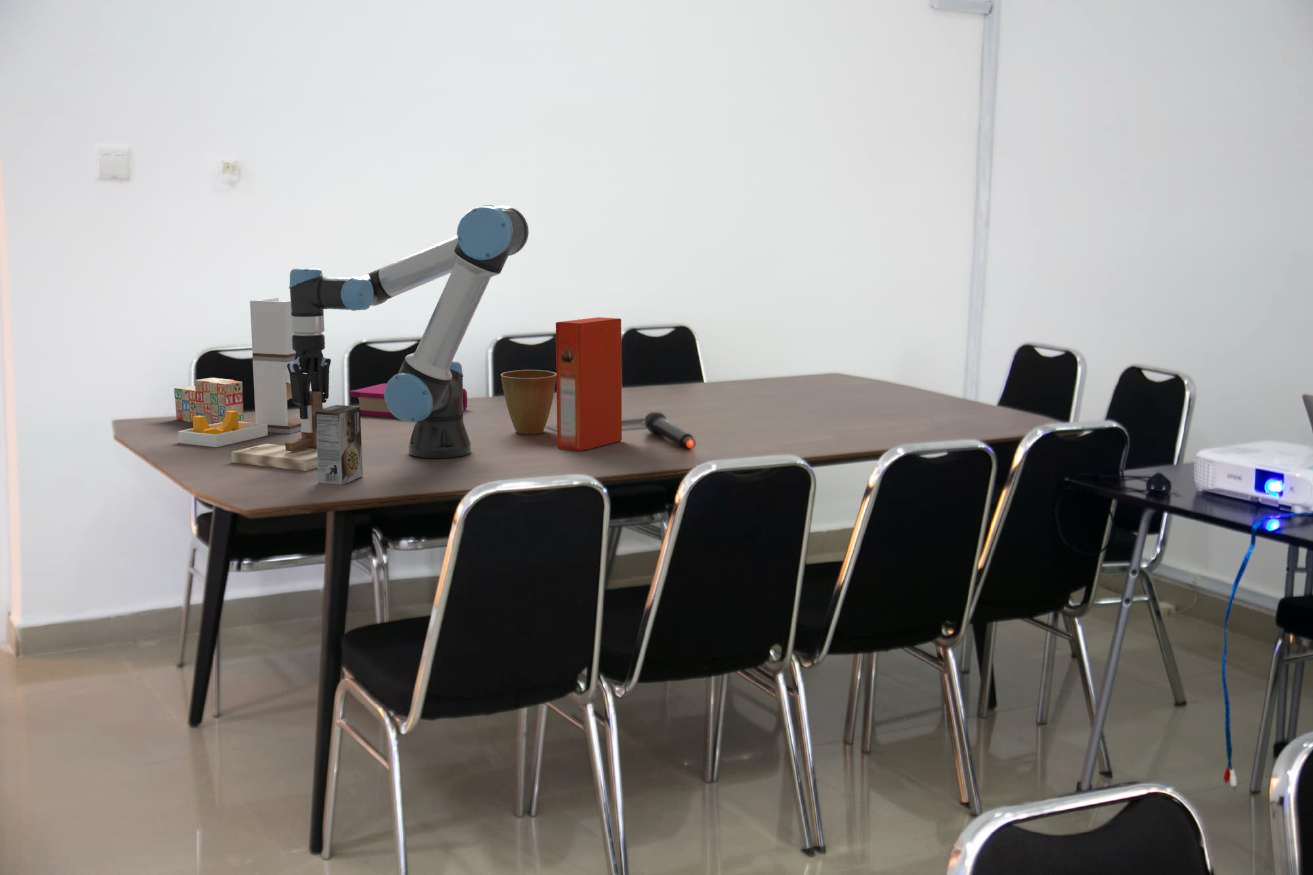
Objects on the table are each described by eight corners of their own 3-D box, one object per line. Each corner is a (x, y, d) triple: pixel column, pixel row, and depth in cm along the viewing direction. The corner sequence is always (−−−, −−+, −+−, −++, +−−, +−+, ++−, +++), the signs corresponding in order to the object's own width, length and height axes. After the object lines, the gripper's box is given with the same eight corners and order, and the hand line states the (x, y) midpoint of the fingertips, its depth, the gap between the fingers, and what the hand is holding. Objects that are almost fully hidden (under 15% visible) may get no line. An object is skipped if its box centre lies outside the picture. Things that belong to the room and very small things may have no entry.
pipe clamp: (204, 443, 327) (203, 418, 325) (194, 441, 329) (192, 416, 328) (243, 436, 336) (242, 411, 335) (232, 434, 339) (231, 410, 338)
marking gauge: (325, 455, 309) (322, 391, 306) (297, 462, 300) (295, 397, 297) (309, 453, 311) (306, 390, 308) (281, 460, 302) (278, 395, 299)
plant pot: (496, 428, 349) (496, 370, 346) (549, 426, 354) (549, 369, 351) (507, 438, 335) (506, 378, 333) (562, 435, 340) (562, 376, 337)
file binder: (556, 448, 323) (555, 321, 317) (596, 438, 337) (596, 316, 331) (581, 451, 319) (581, 323, 313) (621, 441, 333) (622, 318, 327)
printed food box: (338, 474, 289) (335, 404, 286) (363, 476, 287) (361, 406, 285) (316, 483, 281) (313, 410, 278) (342, 485, 279) (340, 412, 276)
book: (386, 405, 391) (385, 380, 390) (467, 410, 382) (467, 385, 381) (347, 415, 372) (347, 389, 370) (432, 421, 363) (432, 395, 361)
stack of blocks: (175, 420, 359) (172, 377, 357) (194, 417, 364) (191, 374, 362) (226, 428, 348) (223, 383, 346) (244, 424, 353) (242, 380, 351)
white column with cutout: (290, 433, 339) (284, 301, 333) (256, 431, 343) (249, 300, 336) (314, 427, 350) (309, 299, 344) (281, 424, 353) (275, 297, 347)
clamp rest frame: (267, 435, 337) (267, 424, 336) (216, 447, 320) (216, 435, 320) (230, 431, 342) (230, 420, 341) (178, 442, 325) (178, 431, 325)
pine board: (339, 461, 304) (338, 451, 303) (306, 470, 293) (305, 460, 292) (266, 453, 313) (266, 443, 312) (231, 462, 302) (231, 451, 301)
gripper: (317, 329, 312) (321, 424, 316) (272, 335, 297) (277, 435, 302) (342, 331, 309) (345, 427, 313) (298, 337, 294) (302, 437, 299)
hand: (312, 430), depth 307 cm, fingers closed on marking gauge, 3 cm apart
